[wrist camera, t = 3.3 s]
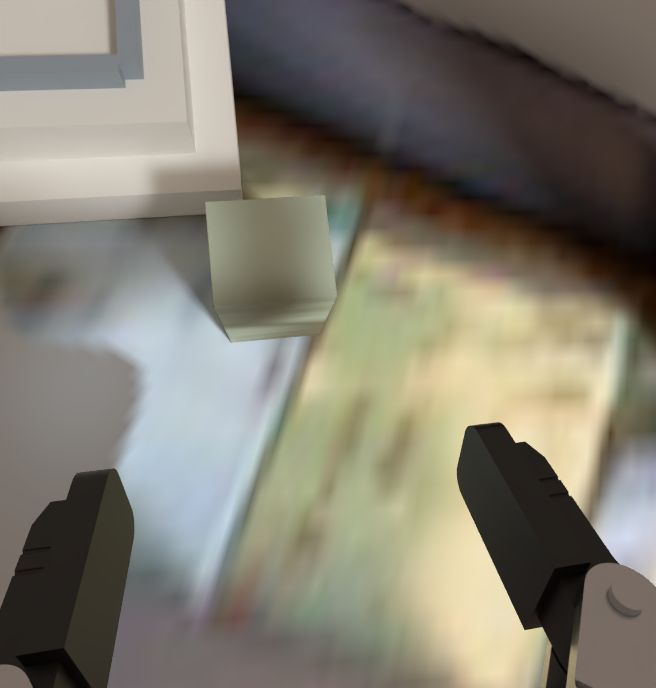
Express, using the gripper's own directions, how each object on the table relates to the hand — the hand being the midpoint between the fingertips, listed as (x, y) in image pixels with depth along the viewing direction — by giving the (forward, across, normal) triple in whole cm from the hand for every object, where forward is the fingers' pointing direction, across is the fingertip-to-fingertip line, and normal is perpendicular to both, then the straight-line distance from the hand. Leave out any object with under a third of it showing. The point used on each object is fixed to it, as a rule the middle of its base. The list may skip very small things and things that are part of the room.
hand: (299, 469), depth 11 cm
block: (+15, 0, +4) cm, 15 cm away
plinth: (+24, +9, -5) cm, 26 cm away
